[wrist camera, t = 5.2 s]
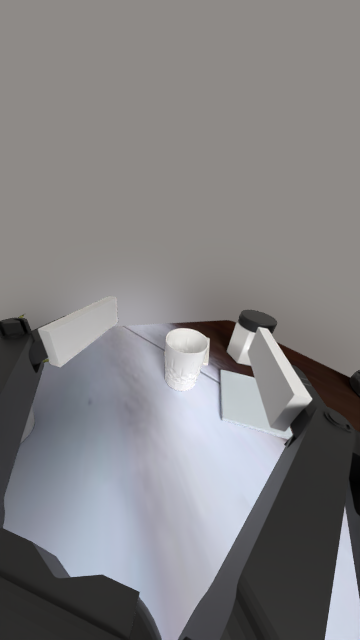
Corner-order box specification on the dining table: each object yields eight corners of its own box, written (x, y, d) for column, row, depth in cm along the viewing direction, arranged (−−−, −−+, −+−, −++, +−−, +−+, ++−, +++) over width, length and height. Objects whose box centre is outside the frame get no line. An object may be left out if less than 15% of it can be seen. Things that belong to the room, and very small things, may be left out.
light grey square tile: (269, 384, 33) (271, 381, 33) (291, 440, 24) (293, 437, 23) (220, 372, 35) (220, 369, 35) (221, 420, 25) (223, 417, 25)
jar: (234, 341, 47) (247, 306, 41) (261, 354, 43) (280, 317, 37) (222, 355, 40) (235, 315, 35) (253, 372, 36) (273, 330, 31)
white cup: (192, 401, 28) (203, 360, 23) (154, 384, 30) (157, 344, 25) (202, 371, 34) (212, 335, 30) (171, 359, 36) (176, 324, 32)
